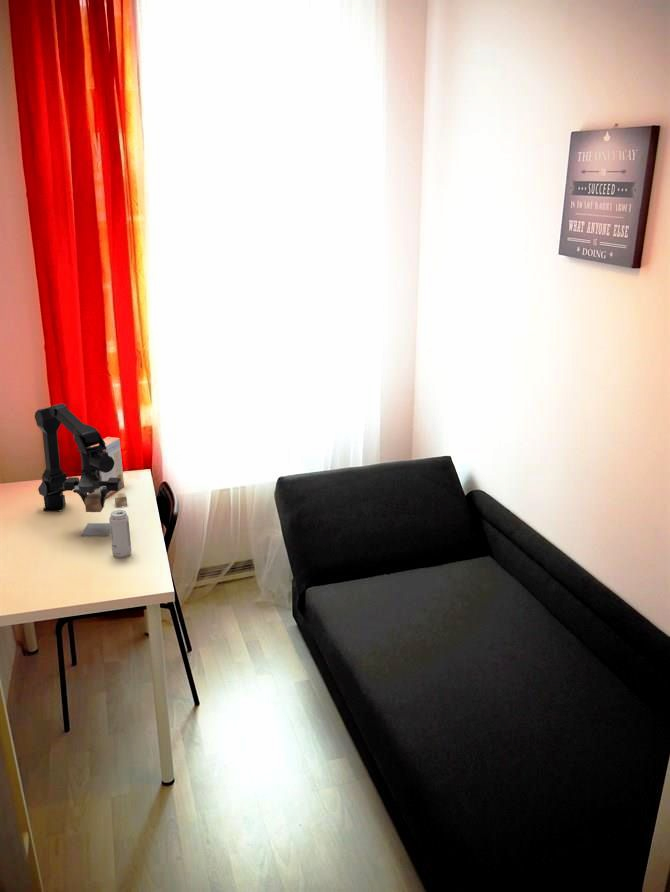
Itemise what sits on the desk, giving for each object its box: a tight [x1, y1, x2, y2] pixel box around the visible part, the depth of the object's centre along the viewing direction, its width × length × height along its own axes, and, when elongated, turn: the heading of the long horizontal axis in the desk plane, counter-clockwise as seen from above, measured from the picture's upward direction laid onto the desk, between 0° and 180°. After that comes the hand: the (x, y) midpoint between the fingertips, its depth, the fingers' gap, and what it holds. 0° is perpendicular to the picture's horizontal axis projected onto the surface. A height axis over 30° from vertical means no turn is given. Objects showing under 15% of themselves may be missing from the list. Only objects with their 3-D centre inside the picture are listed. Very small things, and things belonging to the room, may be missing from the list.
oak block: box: [113, 492, 128, 508], centre depth 283 cm, size 4×4×4 cm
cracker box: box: [90, 436, 125, 499], centre depth 292 cm, size 14×6×21 cm, turn 162°
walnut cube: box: [84, 493, 105, 513], centre depth 260 cm, size 5×5×5 cm
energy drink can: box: [108, 509, 132, 559], centre depth 244 cm, size 6×6×15 cm
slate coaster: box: [80, 522, 110, 537], centre depth 263 cm, size 9×9×1 cm
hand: (94, 506), depth 260 cm, fingers closed on walnut cube, 5 cm apart
